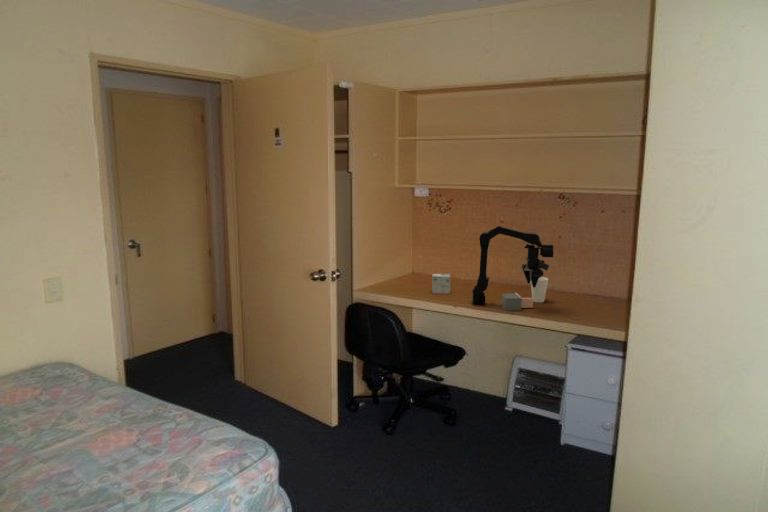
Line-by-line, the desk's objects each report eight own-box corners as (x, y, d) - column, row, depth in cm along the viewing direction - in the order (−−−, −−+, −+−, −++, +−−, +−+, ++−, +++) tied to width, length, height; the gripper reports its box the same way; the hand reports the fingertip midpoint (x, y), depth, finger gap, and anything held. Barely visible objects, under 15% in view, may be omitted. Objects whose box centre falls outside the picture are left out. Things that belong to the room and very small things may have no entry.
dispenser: (505, 310, 289) (506, 297, 287) (501, 305, 299) (501, 292, 297) (520, 310, 289) (521, 297, 288) (515, 305, 299) (516, 292, 298)
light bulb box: (450, 291, 330) (450, 273, 328) (450, 294, 324) (450, 276, 322) (432, 290, 331) (432, 273, 329) (432, 293, 325) (432, 275, 323)
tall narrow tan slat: (514, 307, 293) (514, 298, 292) (513, 306, 295) (513, 297, 294) (532, 307, 293) (533, 298, 292) (531, 306, 295) (532, 297, 294)
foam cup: (528, 302, 305) (529, 279, 303) (530, 298, 314) (531, 276, 312) (546, 303, 302) (547, 280, 300) (547, 299, 311) (548, 277, 308)
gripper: (554, 259, 281) (552, 289, 284) (542, 253, 300) (540, 281, 302) (532, 259, 281) (531, 289, 284) (521, 253, 299) (520, 281, 302)
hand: (531, 285), depth 293 cm, fingers open, 9 cm apart
